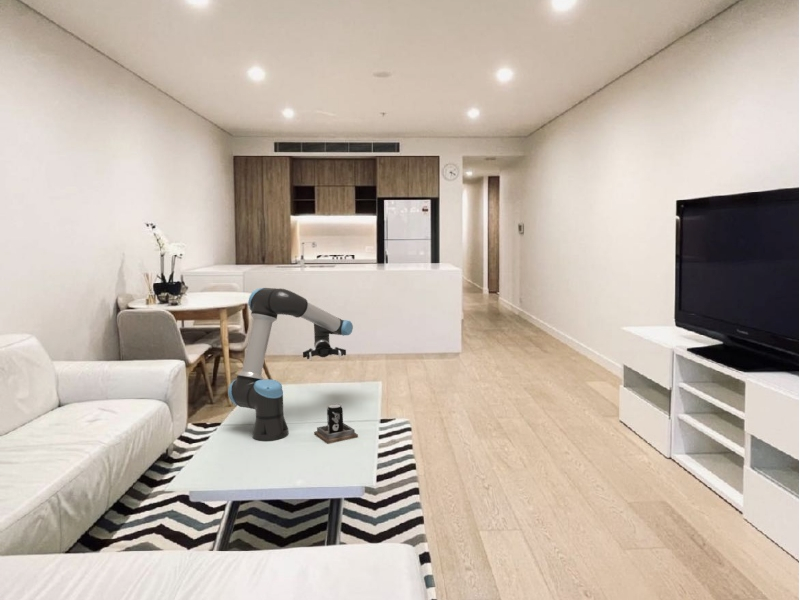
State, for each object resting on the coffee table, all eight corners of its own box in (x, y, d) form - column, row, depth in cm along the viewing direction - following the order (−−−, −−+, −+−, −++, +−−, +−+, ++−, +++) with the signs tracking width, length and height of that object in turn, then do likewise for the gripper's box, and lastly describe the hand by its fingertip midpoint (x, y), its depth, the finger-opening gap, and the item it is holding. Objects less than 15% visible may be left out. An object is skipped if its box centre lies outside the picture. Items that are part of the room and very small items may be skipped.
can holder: (327, 443, 233) (326, 436, 233) (314, 434, 245) (313, 427, 245) (357, 437, 240) (357, 429, 240) (343, 428, 252) (343, 421, 252)
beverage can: (346, 432, 243) (345, 405, 242) (335, 436, 238) (334, 408, 237) (336, 429, 247) (335, 402, 246) (324, 433, 242) (323, 405, 241)
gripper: (348, 354, 285) (352, 363, 264) (297, 357, 281) (298, 366, 260) (348, 339, 284) (352, 347, 264) (297, 342, 280) (297, 350, 259)
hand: (325, 356), depth 262 cm, fingers open, 13 cm apart
